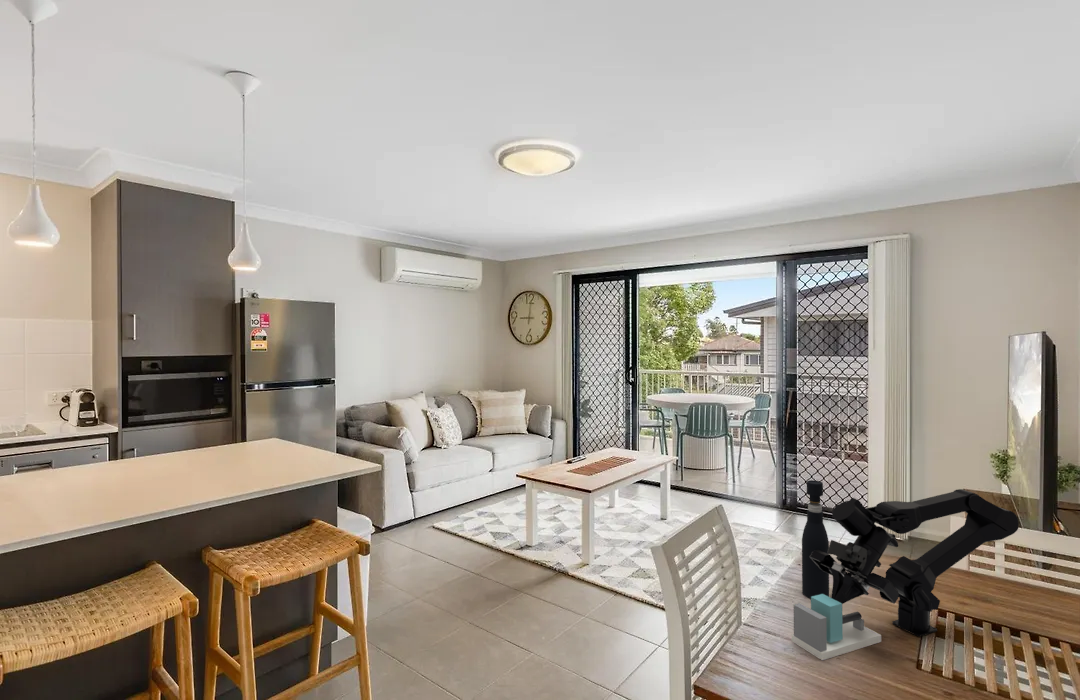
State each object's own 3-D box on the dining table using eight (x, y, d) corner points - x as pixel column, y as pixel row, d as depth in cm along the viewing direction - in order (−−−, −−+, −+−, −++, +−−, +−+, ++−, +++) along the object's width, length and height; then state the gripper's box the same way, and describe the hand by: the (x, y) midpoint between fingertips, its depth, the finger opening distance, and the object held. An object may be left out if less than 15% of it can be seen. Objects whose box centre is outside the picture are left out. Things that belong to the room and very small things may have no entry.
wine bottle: (834, 600, 140) (833, 485, 140) (809, 600, 140) (808, 485, 140) (821, 589, 146) (820, 478, 146) (797, 589, 147) (796, 479, 146)
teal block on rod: (822, 628, 123) (822, 593, 123) (842, 639, 118) (842, 603, 118) (811, 631, 122) (810, 596, 122) (830, 643, 117) (830, 606, 117)
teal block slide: (848, 624, 128) (848, 588, 128) (881, 641, 121) (881, 603, 121) (791, 641, 121) (791, 603, 121) (822, 660, 114) (821, 620, 114)
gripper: (815, 515, 131) (780, 568, 127) (889, 542, 114) (851, 603, 110) (838, 543, 134) (805, 595, 130) (914, 573, 117) (879, 634, 113)
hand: (832, 605), depth 121 cm, fingers closed, pressing on teal block on rod
